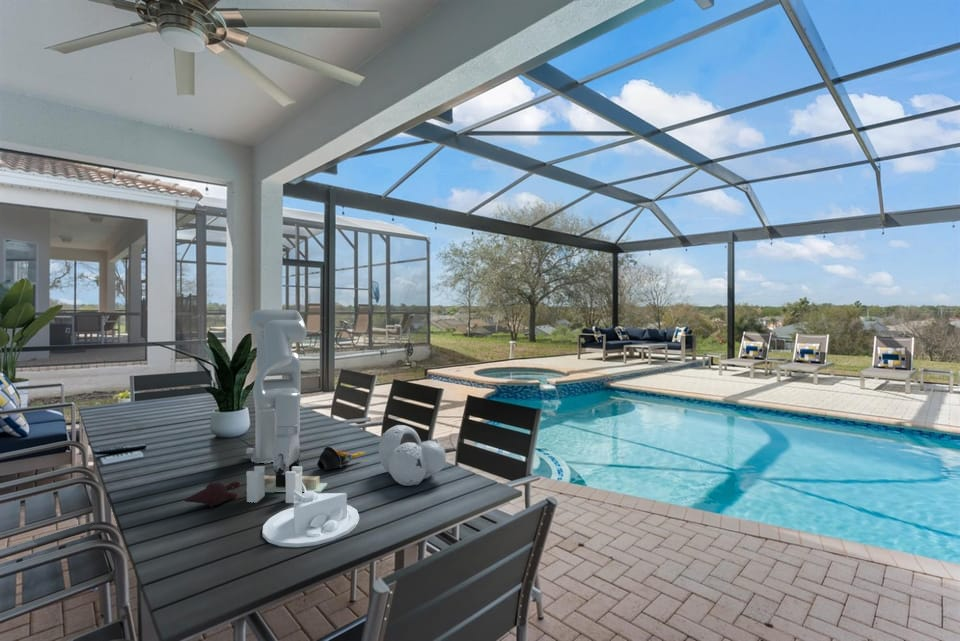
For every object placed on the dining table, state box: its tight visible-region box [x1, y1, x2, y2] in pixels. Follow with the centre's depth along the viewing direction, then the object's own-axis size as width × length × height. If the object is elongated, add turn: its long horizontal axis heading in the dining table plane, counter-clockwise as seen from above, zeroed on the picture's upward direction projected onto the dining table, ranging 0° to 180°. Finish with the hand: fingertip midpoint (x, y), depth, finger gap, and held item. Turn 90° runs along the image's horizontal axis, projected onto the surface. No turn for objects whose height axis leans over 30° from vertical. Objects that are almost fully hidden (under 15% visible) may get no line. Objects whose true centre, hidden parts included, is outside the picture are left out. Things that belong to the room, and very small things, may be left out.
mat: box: [245, 482, 328, 493], centre depth 151 cm, size 24×7×1 cm, turn 89°
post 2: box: [285, 466, 303, 504], centre depth 142 cm, size 3×5×10 cm, turn 179°
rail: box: [265, 475, 321, 489], centre depth 151 cm, size 20×3×3 cm, turn 89°
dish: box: [262, 481, 360, 548], centre depth 126 cm, size 25×25×11 cm
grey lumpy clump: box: [378, 424, 447, 487], centre depth 161 cm, size 20×25×22 cm
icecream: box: [183, 480, 241, 508], centre depth 138 cm, size 7×7×15 cm
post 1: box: [245, 465, 266, 504], centre depth 142 cm, size 3×5×10 cm, turn 179°
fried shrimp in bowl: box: [317, 446, 366, 472], centre depth 173 cm, size 9×11×18 cm
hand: (287, 480), depth 151 cm, fingers open, 9 cm apart
